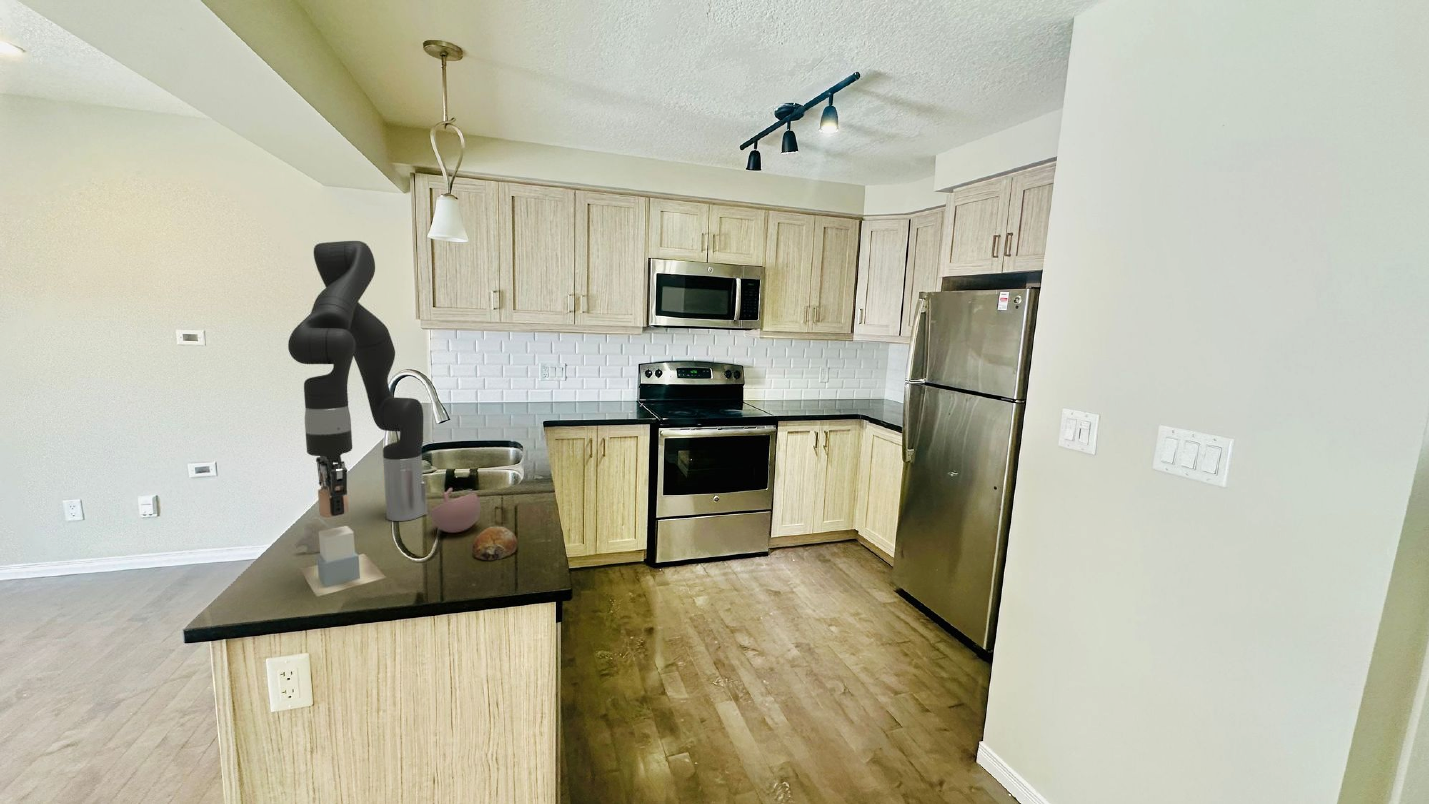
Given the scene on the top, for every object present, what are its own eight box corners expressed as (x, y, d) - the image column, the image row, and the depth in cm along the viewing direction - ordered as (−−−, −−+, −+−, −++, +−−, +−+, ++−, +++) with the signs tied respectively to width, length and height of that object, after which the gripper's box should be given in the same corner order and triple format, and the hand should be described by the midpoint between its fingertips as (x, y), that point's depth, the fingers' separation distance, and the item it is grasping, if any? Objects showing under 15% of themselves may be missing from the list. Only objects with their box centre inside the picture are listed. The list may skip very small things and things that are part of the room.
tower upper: (348, 548, 118) (347, 525, 117) (355, 555, 114) (353, 532, 114) (320, 554, 114) (318, 531, 114) (326, 562, 111) (324, 538, 110)
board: (364, 559, 127) (364, 553, 127) (386, 584, 116) (386, 577, 116) (300, 575, 119) (299, 569, 118) (317, 603, 108) (316, 596, 107)
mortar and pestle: (459, 519, 153) (458, 479, 152) (491, 528, 148) (490, 486, 147) (420, 534, 143) (418, 491, 141) (452, 543, 138) (450, 499, 136)
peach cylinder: (344, 507, 116) (343, 484, 116) (350, 513, 113) (349, 489, 112) (317, 512, 113) (315, 488, 112) (322, 518, 110) (320, 494, 109)
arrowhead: (295, 562, 124) (292, 520, 123) (297, 558, 127) (294, 516, 125) (338, 556, 128) (335, 515, 127) (339, 552, 130) (336, 511, 129)
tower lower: (352, 568, 119) (350, 546, 118) (360, 578, 115) (358, 555, 114) (318, 577, 115) (316, 554, 114) (325, 587, 111) (323, 564, 110)
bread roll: (521, 564, 136) (529, 531, 138) (494, 563, 126) (504, 527, 128) (488, 558, 139) (497, 525, 141) (459, 555, 129) (469, 521, 131)
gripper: (360, 432, 108) (365, 516, 111) (341, 421, 118) (346, 499, 121) (313, 437, 103) (320, 525, 105) (298, 425, 113) (304, 506, 115)
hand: (334, 510), depth 113 cm, fingers closed on peach cylinder, 4 cm apart
